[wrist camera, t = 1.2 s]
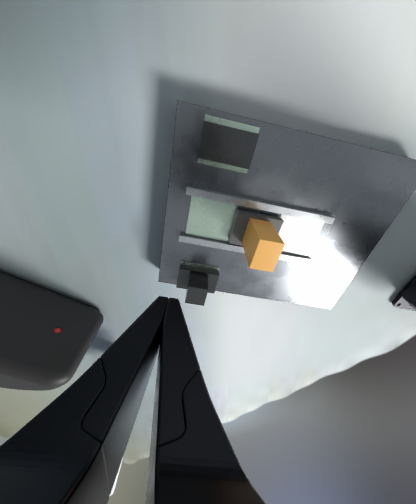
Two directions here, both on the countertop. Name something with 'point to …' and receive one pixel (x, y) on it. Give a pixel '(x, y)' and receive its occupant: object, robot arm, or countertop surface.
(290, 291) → the breaker panel
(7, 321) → the dark rounded block
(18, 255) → the countertop surface
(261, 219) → the block
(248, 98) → the countertop surface
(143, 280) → the countertop surface
